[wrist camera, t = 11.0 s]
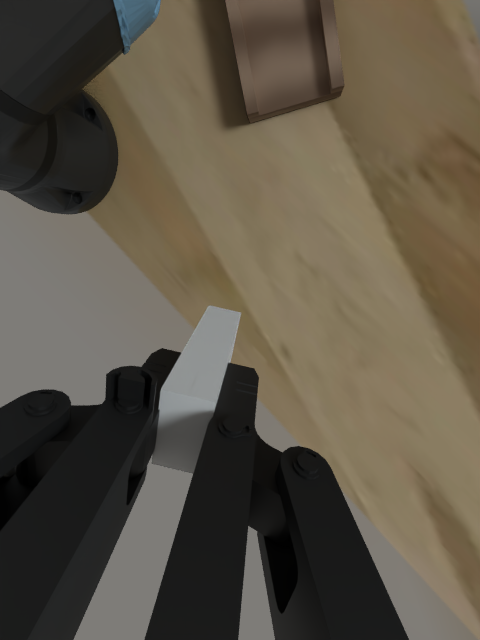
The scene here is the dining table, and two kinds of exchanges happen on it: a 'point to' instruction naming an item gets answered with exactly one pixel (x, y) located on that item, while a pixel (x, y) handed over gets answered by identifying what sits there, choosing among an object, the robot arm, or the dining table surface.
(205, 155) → the dining table surface
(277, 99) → the track
